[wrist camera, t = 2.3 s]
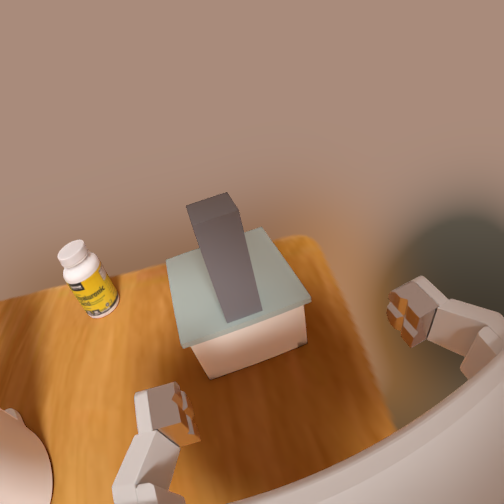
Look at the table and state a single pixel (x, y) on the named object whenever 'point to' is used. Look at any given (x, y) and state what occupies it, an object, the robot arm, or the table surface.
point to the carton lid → (228, 276)
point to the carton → (252, 343)
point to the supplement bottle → (88, 279)
